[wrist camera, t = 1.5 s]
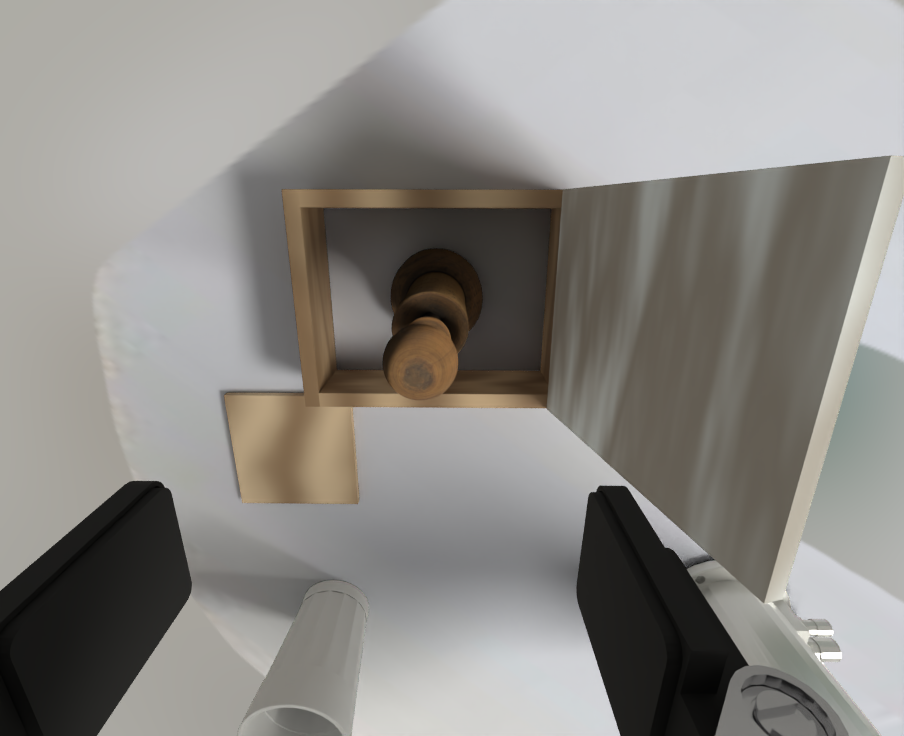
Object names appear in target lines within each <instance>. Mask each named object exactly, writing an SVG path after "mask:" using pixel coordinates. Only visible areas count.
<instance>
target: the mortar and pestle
mask: <svg viewBox="0 0 904 736" xmlns="http://www.w3.org/2000/svg"><path fill="white" fill-rule="evenodd" d="M391 305H392V309H393V312H394V316H393V320H392V335H393V337H392V338H391V339H390V341H389V342H388V344H387V346H386V348H385V351H384V354H383V371H384V375H385V378H386V380H387V382H388V383H389V385H390V386H391V387H392V388H393V389H394V390H395V391H396V392H397V393H398V394H400V395H402V396H403V397H406V398H408V399H412V400H429V399H433V398H435V397H438V396H439V395H441V394H443V393H444V392H445V391H446V390H447V389H448V388H449V387H450V386H451V384H452V383H453V381H454V379H455V377H456V374H457V370H458V355H457V354H458V353H459V352H460V351H461V349H462V348H463V347H464V345H465V343H466V340H467V337H468V332H469V331H470V330H471V329H472V327H473V326H474V325H475V323H476V321H477V320H478V318H479V315H480V312H481V308H482V288H481V284H480V281H479V278H478V276H477V274H476V272H475V270H474V268H473V267H472V266H471V264H470V263H469V262H468V261H467V260H466V259H465V258H463V257H462V256H460V255H459V254H457V253H455V252H453V251H450V250H446V249H440V248H433V249H426V250H423V251H420V252H418V253H416V254H414V255H412V256H411V257H410V258H409V259H407V260H406V261H405V262H404V264H403V265H402V266H401V267H400V269H399V270H398V272H397V273H396V275H395V277H394V280H393V283H392V287H391Z"/></svg>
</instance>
